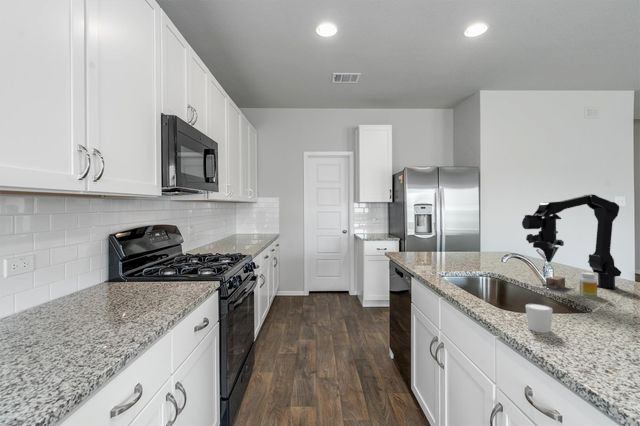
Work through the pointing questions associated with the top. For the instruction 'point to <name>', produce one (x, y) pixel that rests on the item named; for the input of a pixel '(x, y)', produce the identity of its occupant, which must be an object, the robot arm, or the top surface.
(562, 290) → the gray flat panel
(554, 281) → the walnut block
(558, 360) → the top surface
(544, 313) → the white cup
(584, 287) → the supplement bottle
